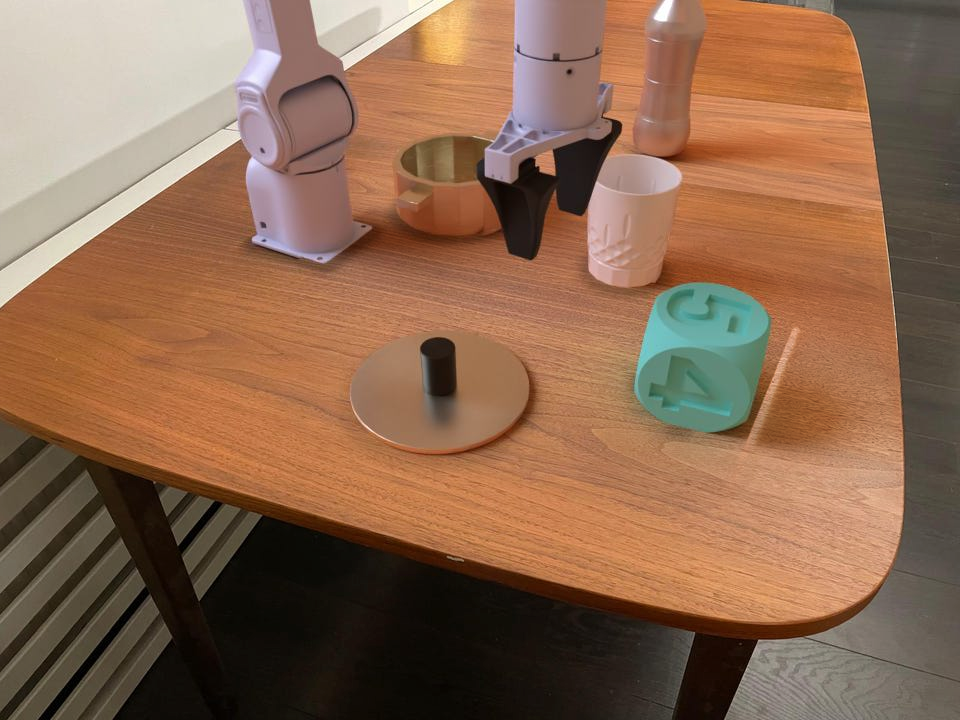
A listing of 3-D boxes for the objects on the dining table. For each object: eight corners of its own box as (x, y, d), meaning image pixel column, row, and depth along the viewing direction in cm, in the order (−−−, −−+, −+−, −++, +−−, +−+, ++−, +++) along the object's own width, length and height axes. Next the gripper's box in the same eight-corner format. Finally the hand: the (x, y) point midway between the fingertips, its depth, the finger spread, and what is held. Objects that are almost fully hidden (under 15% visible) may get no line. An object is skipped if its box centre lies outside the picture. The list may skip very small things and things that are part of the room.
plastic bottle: (686, 165, 89) (719, -21, 76) (628, 160, 90) (650, -24, 77) (686, 142, 94) (716, -36, 81) (631, 138, 95) (652, -39, 82)
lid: (314, 419, 57) (304, 371, 54) (414, 323, 66) (411, 277, 63) (473, 487, 51) (472, 438, 48) (558, 372, 60) (561, 325, 57)
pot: (358, 232, 78) (352, 179, 74) (450, 164, 90) (448, 116, 86) (465, 264, 73) (463, 209, 69) (546, 188, 85) (549, 137, 81)
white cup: (622, 306, 67) (636, 204, 61) (563, 267, 72) (570, 169, 66) (683, 276, 71) (702, 177, 65) (623, 241, 76) (635, 146, 70)
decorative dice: (739, 446, 54) (765, 360, 49) (628, 418, 56) (642, 332, 51) (752, 377, 60) (776, 293, 55) (651, 355, 62) (665, 272, 57)
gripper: (558, 94, 43) (547, 294, 51) (660, 28, 52) (636, 206, 61) (455, 71, 46) (460, 264, 54) (569, 12, 55) (558, 185, 64)
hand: (547, 232), depth 58 cm, fingers open, 7 cm apart
